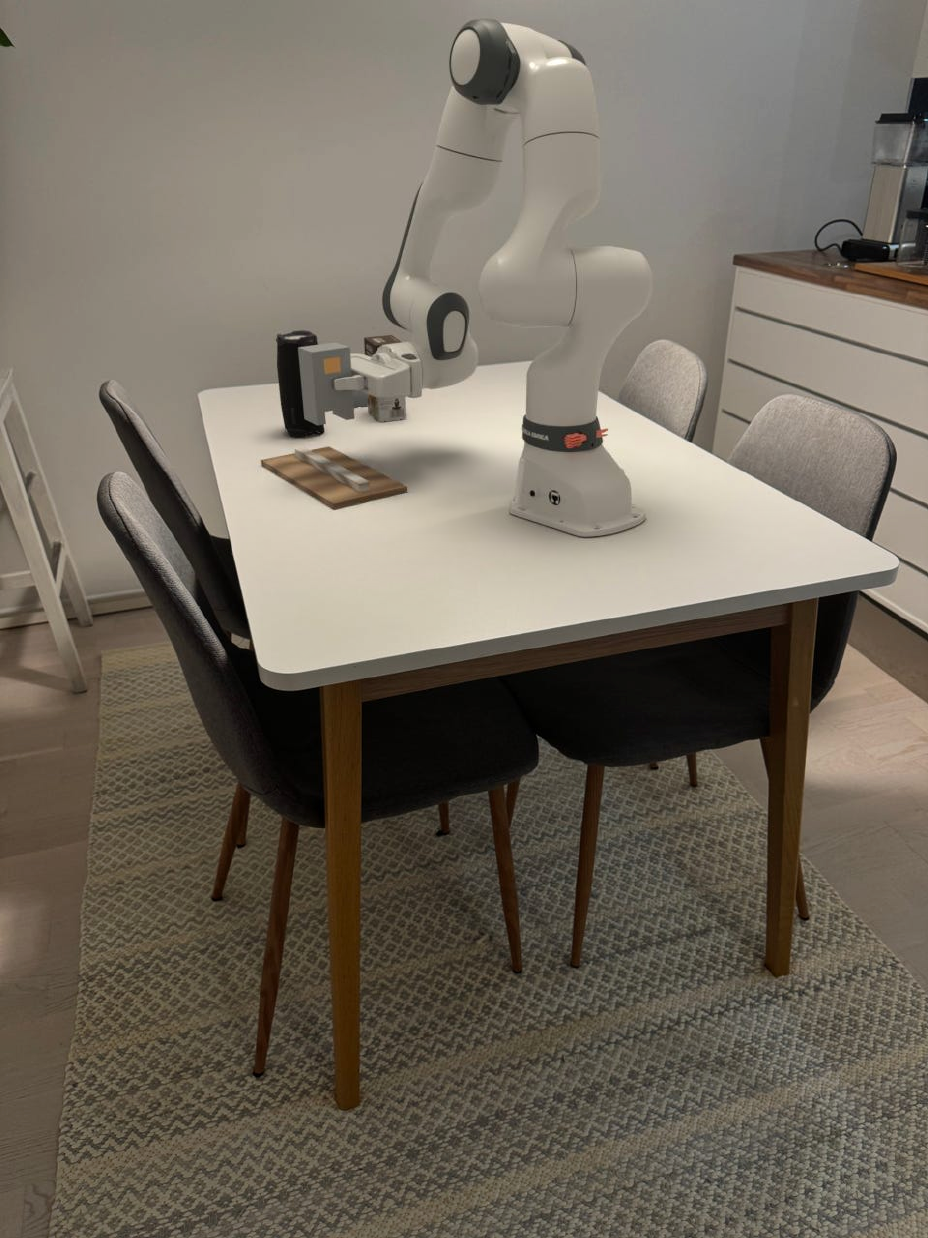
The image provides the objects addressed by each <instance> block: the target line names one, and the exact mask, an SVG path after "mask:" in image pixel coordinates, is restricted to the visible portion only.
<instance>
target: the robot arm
mask: <svg viewBox="0 0 928 1238" xmlns="http://www.w3.org/2000/svg"><path fill="white" fill-rule="evenodd" d="M449 53H450V54H449V59H448V60H449V64H448V67H449V68H448V69H449V75H450V80H451V83H452V86H451V88H450V91H449V94H448V97H447V98H446V102H445V106H444V108H443V112H442V114H441V119H440V122H439V127H438V131H437V136H436V141H435V146H434V150H433V156H432V160H431V163H430V166H429V169H428V171H427V174H426V177H425V178H424V180H422V183H420V186H419V187H418V189H417V191H416V194H415V197H414V198H413V199H414V200H413V202H412V206H411V208H410V211H409V212H410V213H409V216H408V220H407V223H406V226H405V227H406V228H405V230H404V235H403V237H402V242H401V245H400V249H399V251H398V252H399V253H398V256H397V259H396V262H395V264H394V267H393V270H392V271H391V273H390V275H389V277H388V278H387V281H386V283H385V286H384V288H383V291H382V294H381V295H382V298H381V304H382V310H383V313H384V315H385V317H386V318H387V320H388V321H389V322H390V323H391V324H393V325H395V326H397V327H399V328H401V329H404V330H406V331H408V332H411V338H410V339H409V340H406V341H401V343H393V344H386V345H382V346H380V347H379V348H378V350H377V352H376V354H374V355H373V356H372V357H370V356H367V355H365V353H357V352H356V353H350V358H351V373H352V377H345V378H342V377H338V378H333V379H332V380H331V383H332V388H333V389H335V390H345V389H346V390H360V391H362V392H365V393H367V394H370V395H372V396H375V397H377V398H398V397H405V398H411V399H418V398H421V397H422V394H423V390H425V389H429V390H435V389H441V388H445V387H450V386H454V385H456V384H457V385H458V384H460V383H462V382H465V381H466V380H468V379H469V378H470V377H472V376H473V374H474V373H475V371H476V370H477V368H478V363H479V350H478V345H477V344H476V342H475V341H474V339H473V337H472V336H471V332H470V327H469V324H470V309H469V306H468V303H467V301H466V299H465V298H464V297H463V296H462V295H460V294H459V293H457V292H456V291H454V290H452V289H450V288H449V287H447V286H445V285H442V284H440V283H438V282H436V281H435V280H434V279H433V277H432V267H433V266H432V265H433V263H434V259H435V255H436V252H437V248H438V245H439V242H440V239H441V235H442V232H443V230H444V227H445V226H446V225H447V223H448V222H449V221H450V220H451V219H453V218H454V217H456V216H457V217H458V216H460V215H463V214H469V213H471V212H474V211H477V210H478V209H481V208H482V207H483V206H485V205H486V204H487V203H488V202H489V201H490V200H491V199H492V198H493V196H494V193H495V190H496V188H497V186H498V182H499V179H500V176H501V171H502V165H503V160H504V156H505V152H506V145H507V140H508V135H509V132H510V130H511V127H513V124H514V123H515V122H516V121H518V120H520V119H521V135H522V136H521V138H522V139H521V140H522V141H521V142H522V168H523V169H522V170H523V172H522V173H523V174H522V175H523V176H522V177H523V178H522V180H523V181H522V183H523V184H522V201H521V202H522V203H521V209H520V213H519V217H518V219H517V222H516V224H515V227H514V229H513V231H512V232H511V235H510V236H509V237H508V239H507V240H506V242H505V243H504V244H503V245H502V246H501V247H500V248H499V249H498V250H497V251H496V252H495V253H494V254H493V255H491V257H490V258H489V259H488V260H487V261H486V263H485V265H484V267H483V268H482V271H481V273H480V277H479V282H478V296H479V300H480V304H481V307H482V308H483V311H484V312H485V314H486V315H487V317H488V318H489V319H490V320H491V321H492V322H493V323H495V324H500V325H504V326H505V325H506V326H511V327H516V328H517V327H518V328H523V329H524V328H525V329H527V328H546V327H547V328H550V327H551V328H552V327H565V329H564V331H563V334H562V336H561V337H560V339H559V340H558V342H557V343H556V344H554V345H553V346H552V347H550V348H549V349H547V350H544V351H543V352H542V353H540V354H538V355H537V356H536V357H535V358H534V359H533V360H532V361H531V363H530V364H529V366H528V368H527V371H526V375H525V376H526V384H525V389H526V390H525V391H526V392H525V413H524V415H523V416H522V424H521V439H522V440H523V443H524V444H523V447H522V448H523V449H522V451H521V456H520V458H519V461H518V468H517V476H516V482H515V483H516V484H515V492H514V495H513V496H514V497H513V500H512V501H513V502H512V503H511V505H510V507H509V508H510V509H509V513H510V514H511V515H513V516H516V517H519V518H522V519H525V520H529V521H532V522H535V523H538V524H541V525H544V526H547V527H549V528H553V529H556V530H559V531H562V532H565V533H568V534H572V535H574V536H578V537H582V538H584V537H585V538H586V537H598V536H599V537H600V536H606V535H612V534H615V533H618V532H622V531H625V530H629V529H630V528H634V527H636V526H638V525H640V524H641V523H643V522H644V521H645V520H646V518H647V514H646V513H647V512H646V511H645V510H643V508H640V507H639V506H637V505H635V504H634V503H632V499H633V498H632V487H631V481H630V478H629V477H628V475H626V473H625V471H624V469H623V468H621V467H620V466H619V465H618V463H617V462H616V460H615V459H614V458H613V457H612V455H611V454H610V453H609V451H608V450H607V449H606V447H605V446H604V444H603V443H604V439H603V438H605V437H607V436H609V435H608V434H607V433H606V432H608V431H609V428H603V429H601V425H600V419H599V417H598V416H597V408H598V407H597V406H598V398H599V397H598V396H599V388H600V380H601V374H602V369H603V366H604V363H605V360H606V357H607V355H608V354H609V351H610V349H611V347H612V346H613V344H614V342H615V340H616V339H617V338H618V336H619V335H620V334H621V333H622V332H623V331H624V329H625V328H626V327H627V326H628V325H630V324H631V323H632V322H633V321H634V320H636V319H637V318H638V317H640V316H641V314H642V313H643V312H644V311H645V309H646V308H647V306H648V304H649V303H650V300H651V297H652V294H653V288H654V285H653V284H654V281H653V280H654V279H653V278H654V277H653V273H652V269H651V267H650V264H649V262H648V260H647V258H646V257H645V256H644V255H643V254H642V252H640V251H638V250H633V249H629V248H624V247H619V246H612V245H597V246H596V245H595V246H591V245H589V246H568V245H567V246H565V245H564V241H563V239H564V238H563V237H564V232H565V229H566V228H567V227H569V226H571V225H573V224H575V223H576V222H578V221H580V220H581V219H583V218H584V217H586V216H587V215H589V214H590V213H591V212H592V211H593V210H594V209H595V208H596V206H597V205H598V203H599V200H600V197H601V194H602V168H601V167H602V166H601V163H602V162H601V141H600V140H601V138H600V136H601V134H600V120H599V112H598V105H597V98H596V93H595V88H594V82H593V79H592V75H591V72H590V70H589V69H588V67H587V64H586V61H585V59H584V56H583V55H582V53H581V52H580V51H579V50H578V49H577V48H576V47H574V46H573V45H571V44H570V43H568V42H567V41H564V40H562V39H555V38H552V37H550V36H549V35H547V34H544V33H541V32H539V31H536V30H534V29H533V28H530V27H528V26H523V25H519V24H514V23H509V22H507V23H506V22H500V21H499V20H497V19H495V18H475V19H472V20H469V21H467V22H466V23H464V25H462V27H461V28H460V29H459V31H458V32H457V33H456V35H455V38H454V39H453V42H452V45H451V48H450V51H449ZM603 433H604V434H603ZM605 433H606V434H605Z"/></svg>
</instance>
